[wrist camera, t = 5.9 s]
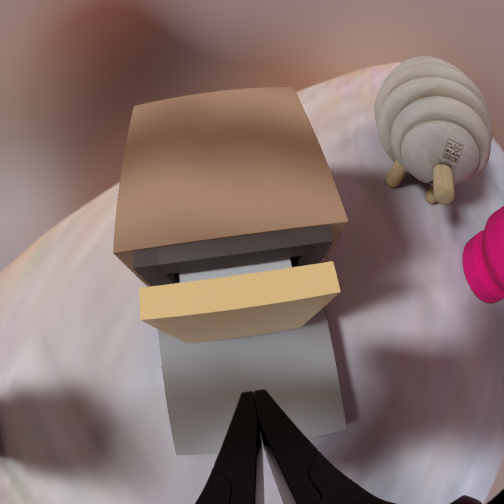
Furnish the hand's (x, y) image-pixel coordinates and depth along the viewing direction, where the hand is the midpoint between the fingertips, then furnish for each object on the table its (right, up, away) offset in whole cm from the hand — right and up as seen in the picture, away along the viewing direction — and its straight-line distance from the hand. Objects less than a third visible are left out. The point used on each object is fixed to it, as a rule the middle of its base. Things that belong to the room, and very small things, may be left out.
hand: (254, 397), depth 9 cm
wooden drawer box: (-1, +2, +9) cm, 9 cm away
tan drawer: (-1, +6, +8) cm, 10 cm away
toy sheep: (+14, +13, +14) cm, 24 cm away
